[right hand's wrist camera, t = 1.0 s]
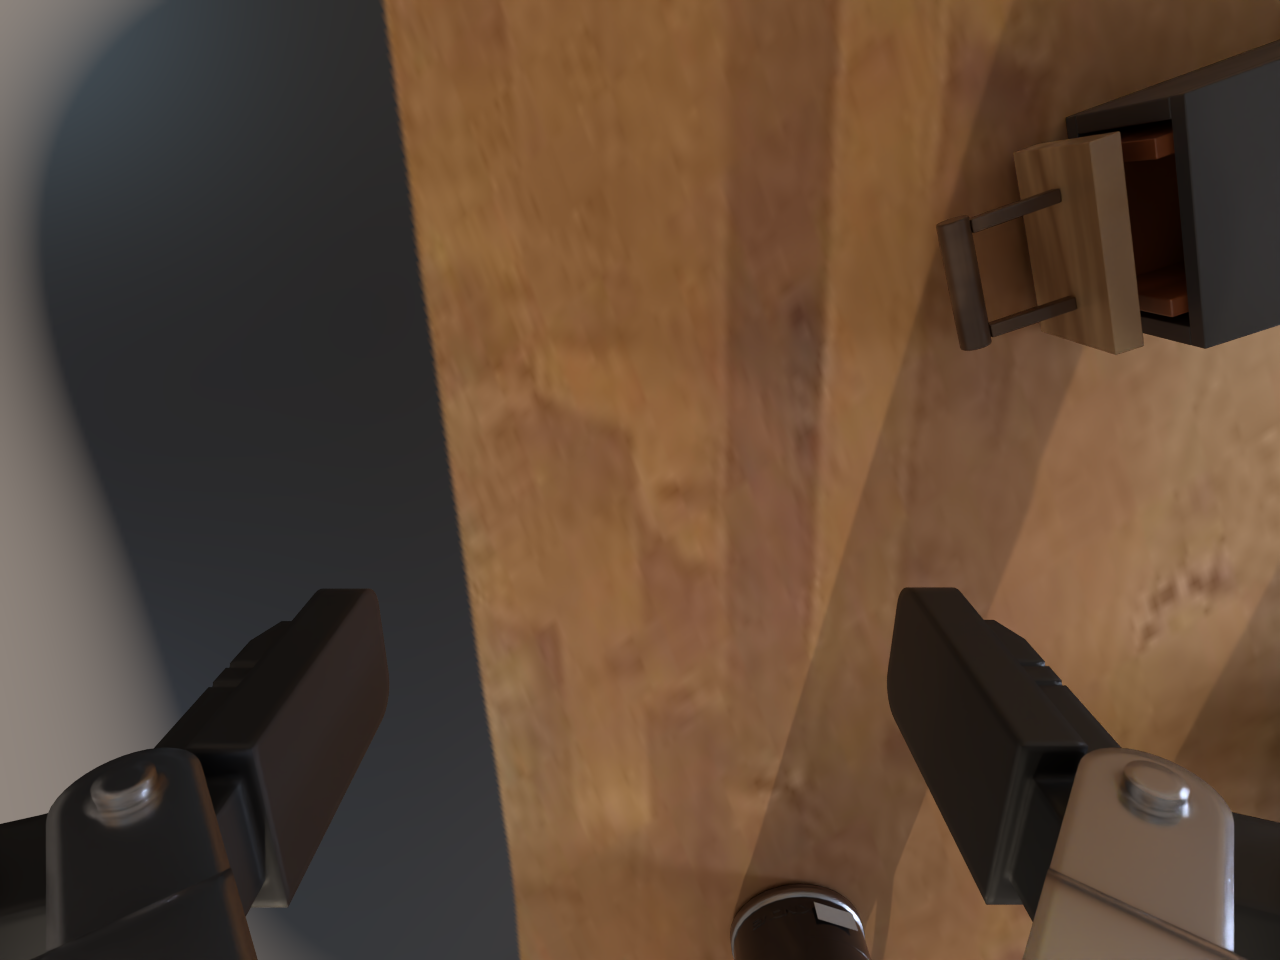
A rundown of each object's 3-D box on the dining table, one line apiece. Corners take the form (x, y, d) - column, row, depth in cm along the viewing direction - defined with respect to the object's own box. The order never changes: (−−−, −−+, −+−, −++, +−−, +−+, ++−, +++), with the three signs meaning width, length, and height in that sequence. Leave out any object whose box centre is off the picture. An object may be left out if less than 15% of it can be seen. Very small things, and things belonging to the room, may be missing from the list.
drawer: (939, 365, 38) (994, 394, 32) (903, 192, 35) (956, 189, 29) (1346, 230, 35) (1486, 235, 30) (1344, 32, 33) (1498, -5, 27)
